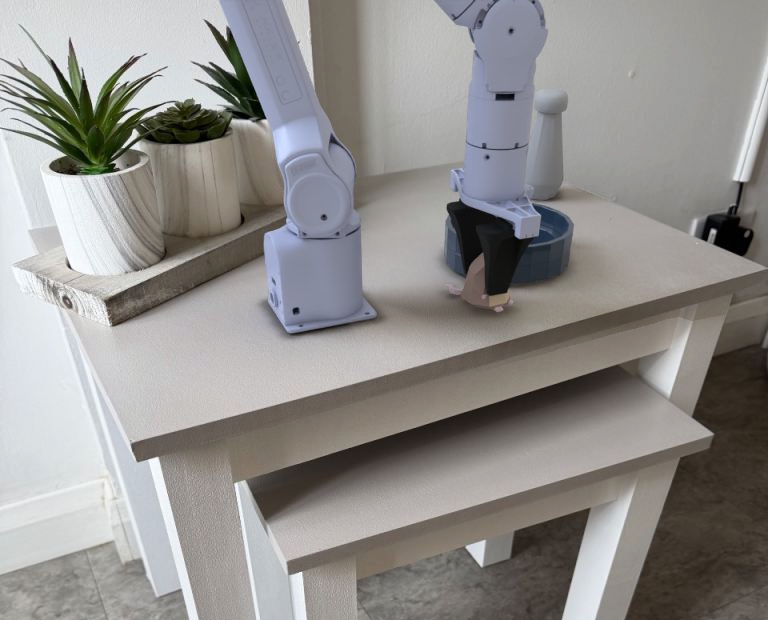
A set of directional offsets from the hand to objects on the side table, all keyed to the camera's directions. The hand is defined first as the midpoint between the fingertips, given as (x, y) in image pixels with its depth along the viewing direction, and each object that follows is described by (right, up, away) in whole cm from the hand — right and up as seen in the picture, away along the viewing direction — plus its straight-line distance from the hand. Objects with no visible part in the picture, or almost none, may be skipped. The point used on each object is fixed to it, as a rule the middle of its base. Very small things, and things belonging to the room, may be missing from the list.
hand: (485, 283), depth 80 cm
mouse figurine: (-1, -1, +2) cm, 3 cm away
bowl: (+4, +6, +11) cm, 13 cm away
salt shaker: (+11, +20, +28) cm, 36 cm away
